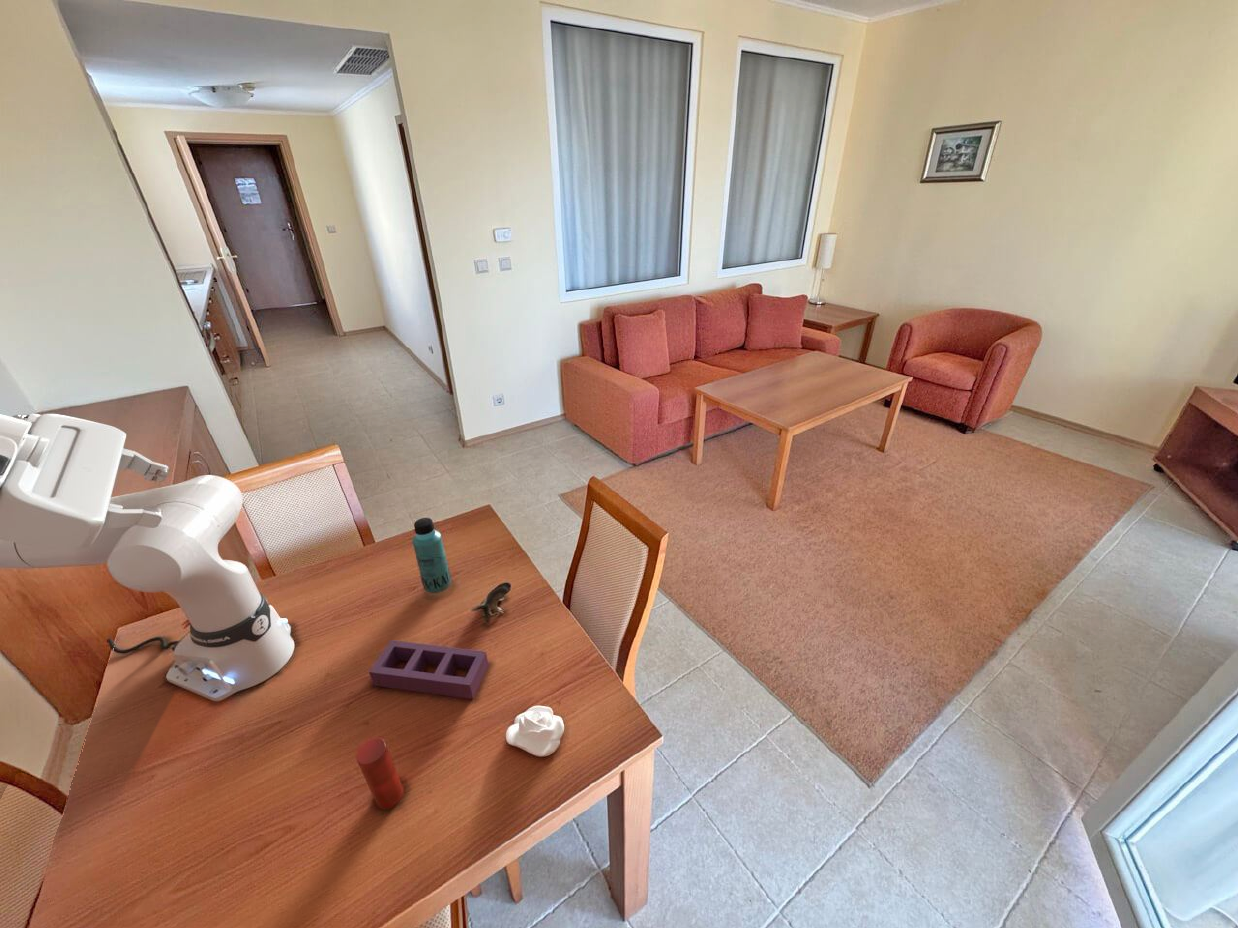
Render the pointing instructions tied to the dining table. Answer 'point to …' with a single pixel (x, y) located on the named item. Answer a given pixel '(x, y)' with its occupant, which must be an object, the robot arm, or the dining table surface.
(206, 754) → the dining table surface
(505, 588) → the eagle figurine
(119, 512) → the robot arm
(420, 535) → the beverage bottle
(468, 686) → the peg board
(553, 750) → the rose
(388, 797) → the red peg
